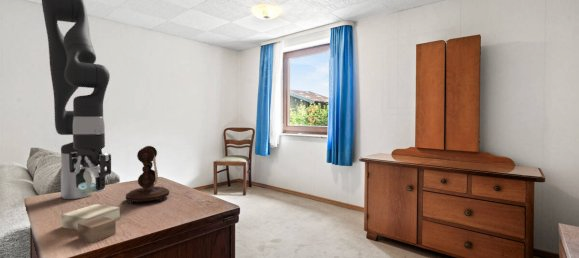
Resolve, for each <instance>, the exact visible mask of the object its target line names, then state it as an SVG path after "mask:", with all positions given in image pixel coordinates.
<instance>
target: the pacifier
mask: <svg viewBox="0 0 579 258" xmlns="http://www.w3.org/2000/svg"><path fill="white" fill-rule="evenodd" d="M83 177H84V179H85V180H86V182H84V183H81V184H79V185H78V188H79V189H80V190H83V191H85V193H92V194H93V193H98V192H99V193H100V192H103V191H105V190H106V187H105V188H104V189H102V190H96V183H94V182H92V181H93V177H92V174H91V175H90V173H89V172H88V171H86V172H85V173H84V175H83ZM91 182H92V183H91ZM82 187H84V188H82Z"/></svg>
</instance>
